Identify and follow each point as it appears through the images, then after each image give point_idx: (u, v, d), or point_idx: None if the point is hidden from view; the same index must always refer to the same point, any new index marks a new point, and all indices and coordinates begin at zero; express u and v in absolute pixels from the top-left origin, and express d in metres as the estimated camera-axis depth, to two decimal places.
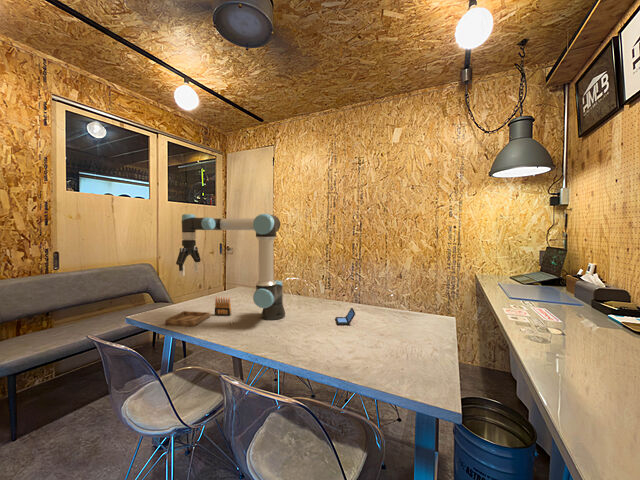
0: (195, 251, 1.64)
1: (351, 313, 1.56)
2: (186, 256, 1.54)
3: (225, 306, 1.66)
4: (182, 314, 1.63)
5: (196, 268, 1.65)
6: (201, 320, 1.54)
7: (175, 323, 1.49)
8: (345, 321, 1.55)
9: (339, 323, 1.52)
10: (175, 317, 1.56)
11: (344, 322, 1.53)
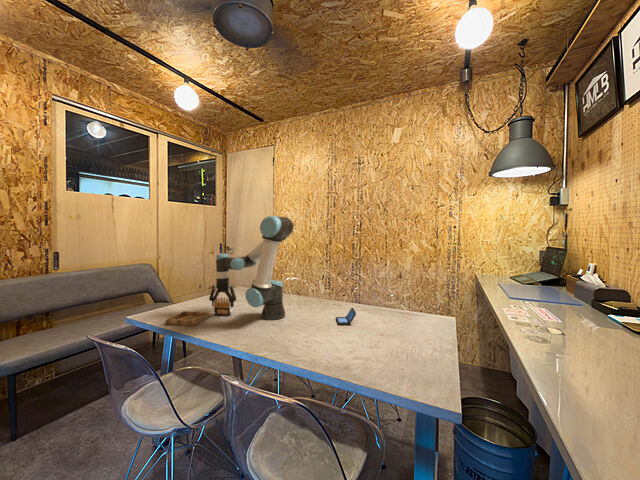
0: None
1: (352, 313, 1.57)
2: (216, 293, 1.66)
3: (225, 306, 1.66)
4: (182, 314, 1.63)
5: None
6: (201, 320, 1.54)
7: (175, 323, 1.49)
8: (346, 321, 1.55)
9: (340, 323, 1.52)
10: (175, 317, 1.56)
11: (345, 322, 1.53)
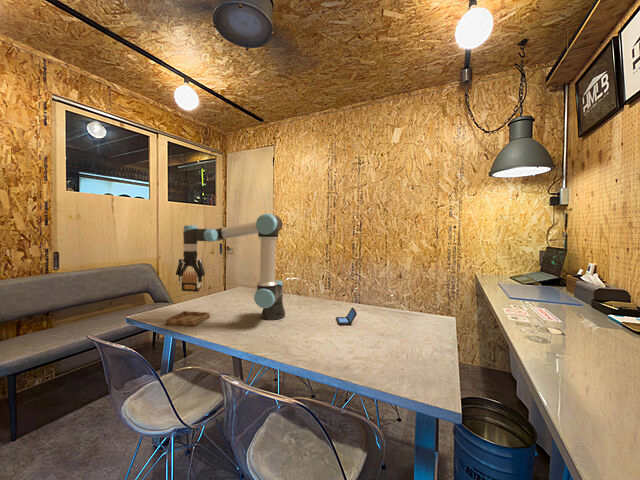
0: None
1: (352, 313, 1.57)
2: (183, 267, 1.56)
3: (193, 281, 1.56)
4: (182, 314, 1.63)
5: None
6: (201, 320, 1.54)
7: (175, 323, 1.49)
8: (346, 321, 1.55)
9: (341, 323, 1.52)
10: (175, 317, 1.56)
11: (345, 322, 1.53)
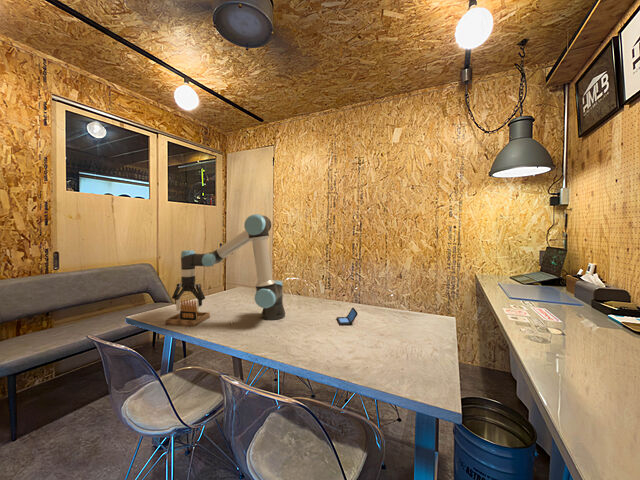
0: None
1: (353, 313, 1.57)
2: (180, 292, 1.55)
3: (191, 309, 1.55)
4: None
5: None
6: (201, 320, 1.54)
7: (175, 323, 1.49)
8: (347, 321, 1.55)
9: (341, 323, 1.51)
10: (175, 317, 1.56)
11: (346, 322, 1.53)
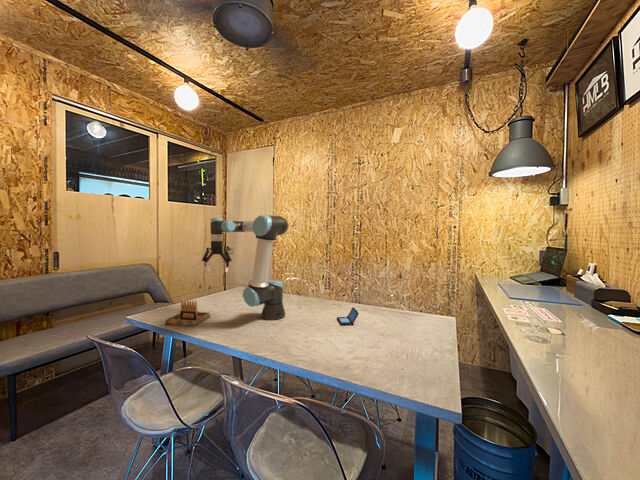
0: None
1: (353, 313, 1.57)
2: (210, 255, 1.76)
3: (191, 309, 1.55)
4: None
5: None
6: (201, 320, 1.54)
7: (175, 323, 1.49)
8: (348, 321, 1.55)
9: (342, 323, 1.51)
10: (175, 317, 1.56)
11: (347, 322, 1.53)
